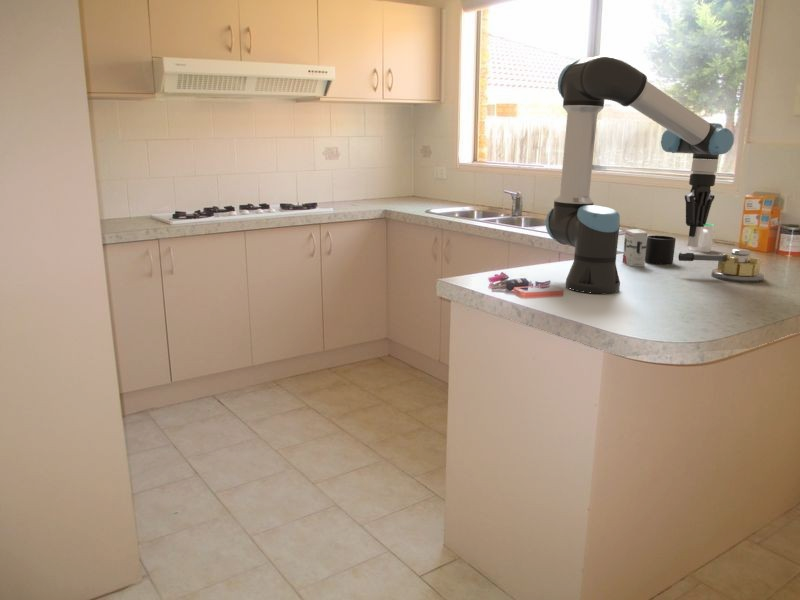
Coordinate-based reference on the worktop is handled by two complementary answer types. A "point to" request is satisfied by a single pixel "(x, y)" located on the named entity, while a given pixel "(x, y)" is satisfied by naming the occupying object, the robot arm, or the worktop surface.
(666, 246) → the mug
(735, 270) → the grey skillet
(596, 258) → the robot arm
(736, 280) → the flange
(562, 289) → the worktop surface
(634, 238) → the ink box
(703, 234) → the mug
